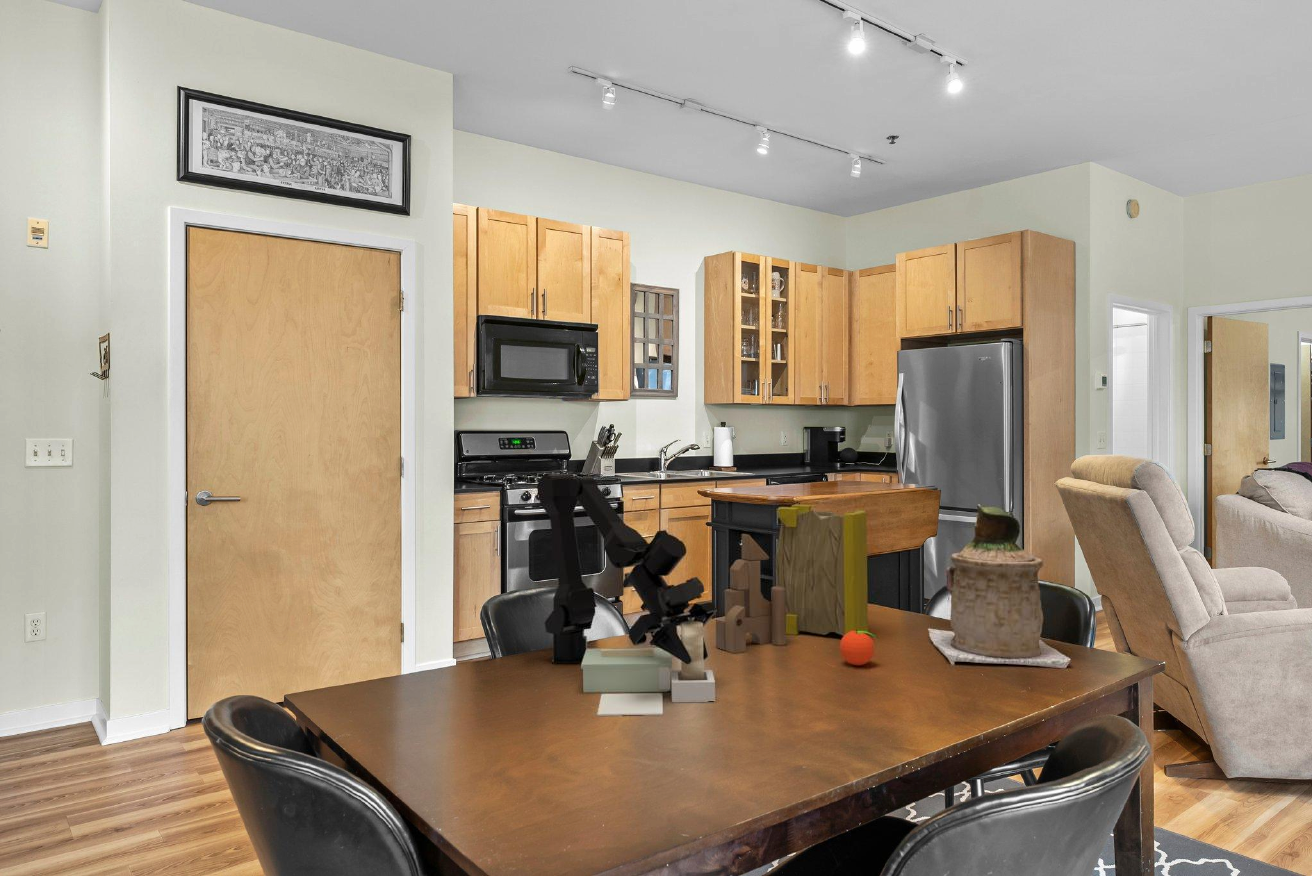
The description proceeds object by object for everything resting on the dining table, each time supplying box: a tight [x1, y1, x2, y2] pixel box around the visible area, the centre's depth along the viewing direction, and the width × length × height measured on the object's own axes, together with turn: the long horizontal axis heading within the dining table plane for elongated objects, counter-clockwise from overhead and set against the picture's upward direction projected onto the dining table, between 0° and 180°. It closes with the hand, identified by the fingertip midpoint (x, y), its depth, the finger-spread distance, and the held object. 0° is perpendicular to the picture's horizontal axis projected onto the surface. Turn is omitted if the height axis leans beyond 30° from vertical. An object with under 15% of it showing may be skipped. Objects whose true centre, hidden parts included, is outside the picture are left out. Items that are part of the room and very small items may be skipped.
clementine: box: [839, 630, 875, 666], centre depth 167 cm, size 8×7×7 cm
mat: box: [596, 692, 664, 717], centre depth 143 cm, size 11×11×1 cm
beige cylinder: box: [680, 621, 705, 680], centre depth 148 cm, size 4×4×13 cm
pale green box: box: [580, 647, 716, 703], centre depth 153 cm, size 24×18×6 cm
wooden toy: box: [715, 533, 787, 654], centre depth 183 cm, size 15×7×25 cm, turn 121°
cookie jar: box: [927, 503, 1071, 669], centre depth 176 cm, size 25×25×32 cm
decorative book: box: [775, 504, 869, 637], centre depth 195 cm, size 20×11×30 cm, turn 58°
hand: (698, 660), depth 147 cm, fingers closed on beige cylinder, 4 cm apart
